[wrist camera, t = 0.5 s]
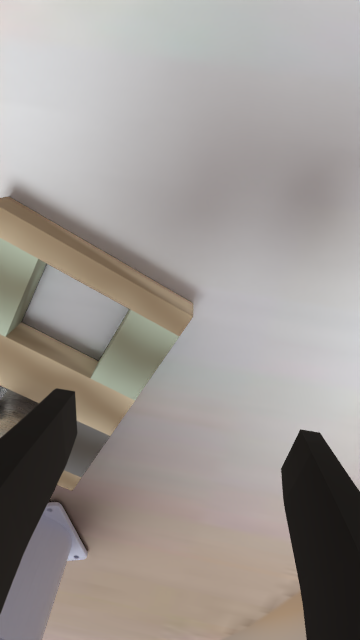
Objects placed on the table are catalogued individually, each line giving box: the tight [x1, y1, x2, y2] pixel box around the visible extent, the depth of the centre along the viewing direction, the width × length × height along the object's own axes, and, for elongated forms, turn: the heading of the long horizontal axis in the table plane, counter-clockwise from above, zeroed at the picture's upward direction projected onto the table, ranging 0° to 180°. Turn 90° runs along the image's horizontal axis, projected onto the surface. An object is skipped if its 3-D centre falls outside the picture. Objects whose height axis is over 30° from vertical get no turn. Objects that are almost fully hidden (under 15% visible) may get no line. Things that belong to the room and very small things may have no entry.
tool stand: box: [0, 197, 193, 491], centre depth 22 cm, size 18×12×2 cm
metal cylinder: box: [0, 390, 39, 438], centre depth 21 cm, size 4×4×8 cm
